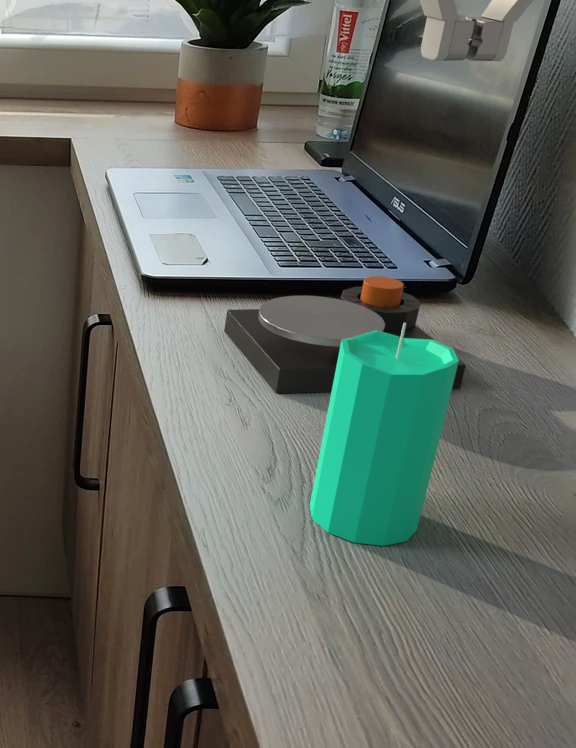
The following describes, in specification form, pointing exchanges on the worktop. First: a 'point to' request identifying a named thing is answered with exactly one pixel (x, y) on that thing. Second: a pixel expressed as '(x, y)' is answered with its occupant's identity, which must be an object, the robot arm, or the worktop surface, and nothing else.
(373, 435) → the candle
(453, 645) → the worktop surface
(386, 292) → the tare button
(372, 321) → the weighing pan
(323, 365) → the scale
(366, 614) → the worktop surface
